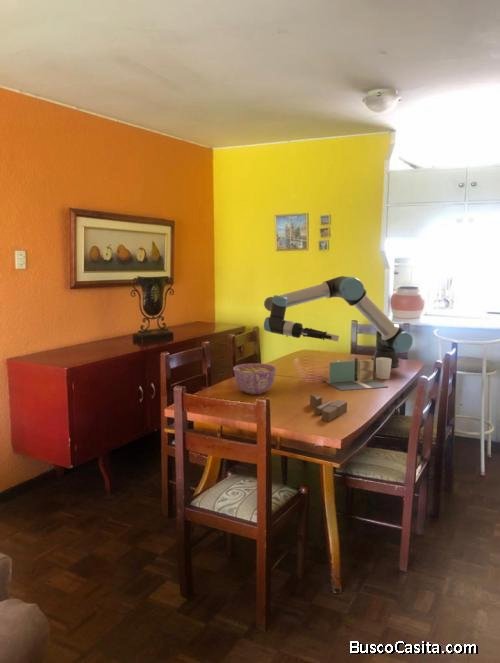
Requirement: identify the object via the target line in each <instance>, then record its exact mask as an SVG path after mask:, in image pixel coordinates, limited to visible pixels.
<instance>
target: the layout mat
mask: <svg viewBox="0 0 500 663" xmlns="http://www.w3.org/2000/svg"><path fill="white" fill-rule="evenodd" d="M327 384H328V385H330V386H332V387H334V388H335V389H337V390H339V391H341V392H345V391H359V390H370V389H382V388H383V389H384V388H385V389H386V388H388V387H389V386H388V385H385V384H384V383H382V382H379V381H377V380H375V379H374V380H358V377H357V381H344V382H327Z"/></svg>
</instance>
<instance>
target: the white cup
mask: <svg viewBox="0 0 500 663" xmlns="http://www.w3.org/2000/svg"><path fill="white" fill-rule="evenodd" d="M391 361H392V359H390V358H384V357H380V358H376V366H375V375H376V376H375V377H376V379H379V380H389V379H390V377H391V369H392V367H391Z"/></svg>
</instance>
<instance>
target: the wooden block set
mask: <svg viewBox="0 0 500 663" xmlns="http://www.w3.org/2000/svg"><path fill="white" fill-rule="evenodd" d="M309 405H310V406H311V408H314V409H313V413H314V414H315V415H316V416H320V415H321V420H323V422H325V423H329V422H331V421H333V420H334V419H336V418H339V417H341V416H342V415H344V414H346V413H347V412H348V401H345V400H340V399H337V400H334V402H333V401H332V400H327V401H325V402H323V397H322V396H318V395H315V394H314V395H313V394H310V396H309Z"/></svg>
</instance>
